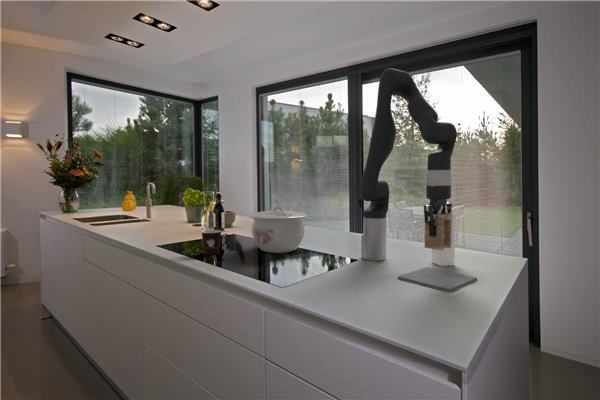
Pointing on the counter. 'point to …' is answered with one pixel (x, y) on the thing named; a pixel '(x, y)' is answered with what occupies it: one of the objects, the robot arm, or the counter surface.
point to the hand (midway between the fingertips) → (437, 235)
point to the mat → (438, 279)
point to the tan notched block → (440, 233)
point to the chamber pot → (278, 230)
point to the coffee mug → (212, 241)
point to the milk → (446, 250)
